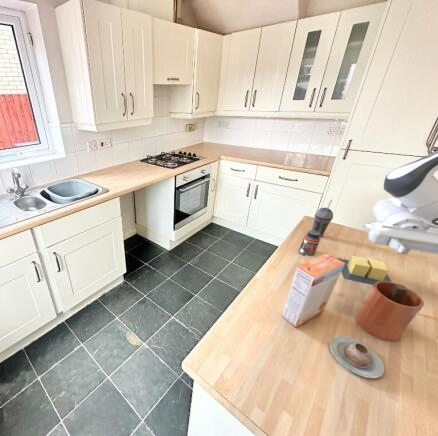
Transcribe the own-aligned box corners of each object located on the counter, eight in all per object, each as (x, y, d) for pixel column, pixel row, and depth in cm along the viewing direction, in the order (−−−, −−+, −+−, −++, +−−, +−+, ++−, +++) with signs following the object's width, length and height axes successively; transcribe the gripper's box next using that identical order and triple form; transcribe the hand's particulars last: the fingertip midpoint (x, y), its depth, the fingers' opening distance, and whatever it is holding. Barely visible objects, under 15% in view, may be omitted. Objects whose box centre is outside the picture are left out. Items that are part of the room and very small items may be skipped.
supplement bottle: (300, 256, 107) (308, 235, 102) (296, 248, 112) (304, 227, 107) (315, 258, 106) (324, 236, 100) (311, 250, 111) (319, 229, 105)
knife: (378, 318, 77) (402, 282, 70) (384, 330, 74) (410, 294, 66) (370, 316, 78) (393, 280, 71) (376, 328, 74) (400, 292, 67)
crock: (391, 318, 78) (413, 286, 71) (405, 346, 70) (432, 313, 63) (352, 308, 82) (369, 276, 75) (361, 333, 74) (381, 301, 67)
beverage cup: (304, 234, 123) (316, 198, 113) (314, 231, 125) (327, 195, 115) (317, 241, 117) (332, 204, 107) (328, 238, 119) (343, 201, 109)
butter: (377, 271, 96) (383, 261, 94) (382, 281, 92) (388, 270, 89) (346, 264, 100) (351, 255, 98) (350, 274, 95) (355, 264, 93)
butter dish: (382, 269, 99) (383, 267, 98) (396, 292, 88) (397, 290, 87) (335, 259, 105) (336, 257, 104) (342, 280, 94) (343, 278, 93)
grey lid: (321, 354, 68) (327, 343, 66) (337, 330, 75) (343, 320, 72) (375, 390, 60) (383, 380, 58) (388, 361, 66) (396, 350, 64)
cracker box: (306, 300, 86) (326, 252, 75) (323, 312, 81) (347, 263, 71) (278, 314, 80) (296, 265, 70) (295, 328, 76) (316, 278, 66)
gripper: (366, 214, 74) (382, 236, 63) (459, 226, 66) (496, 255, 55) (358, 231, 77) (372, 256, 66) (446, 245, 69) (478, 276, 58)
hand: (429, 256), depth 61 cm, fingers open, 8 cm apart
